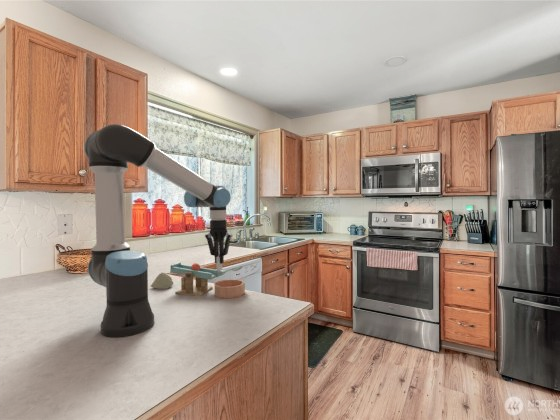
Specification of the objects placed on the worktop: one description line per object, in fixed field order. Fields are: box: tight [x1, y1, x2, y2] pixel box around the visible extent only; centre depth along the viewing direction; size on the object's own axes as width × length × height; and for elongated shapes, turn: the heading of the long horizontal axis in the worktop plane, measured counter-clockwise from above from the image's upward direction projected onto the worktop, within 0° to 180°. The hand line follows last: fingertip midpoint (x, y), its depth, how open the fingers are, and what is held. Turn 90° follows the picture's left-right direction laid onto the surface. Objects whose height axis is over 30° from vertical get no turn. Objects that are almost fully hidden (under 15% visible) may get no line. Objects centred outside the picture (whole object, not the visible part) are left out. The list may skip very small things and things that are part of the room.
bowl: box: [213, 278, 246, 299], centre depth 126 cm, size 13×13×4 cm
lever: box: [169, 261, 227, 281], centre depth 133 cm, size 14×20×3 cm
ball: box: [190, 263, 201, 271], centre depth 130 cm, size 4×4×4 cm
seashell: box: [150, 272, 174, 290], centre depth 138 cm, size 8×8×8 cm
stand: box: [175, 272, 214, 297], centre depth 130 cm, size 11×12×9 cm
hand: (219, 270), depth 135 cm, fingers closed
